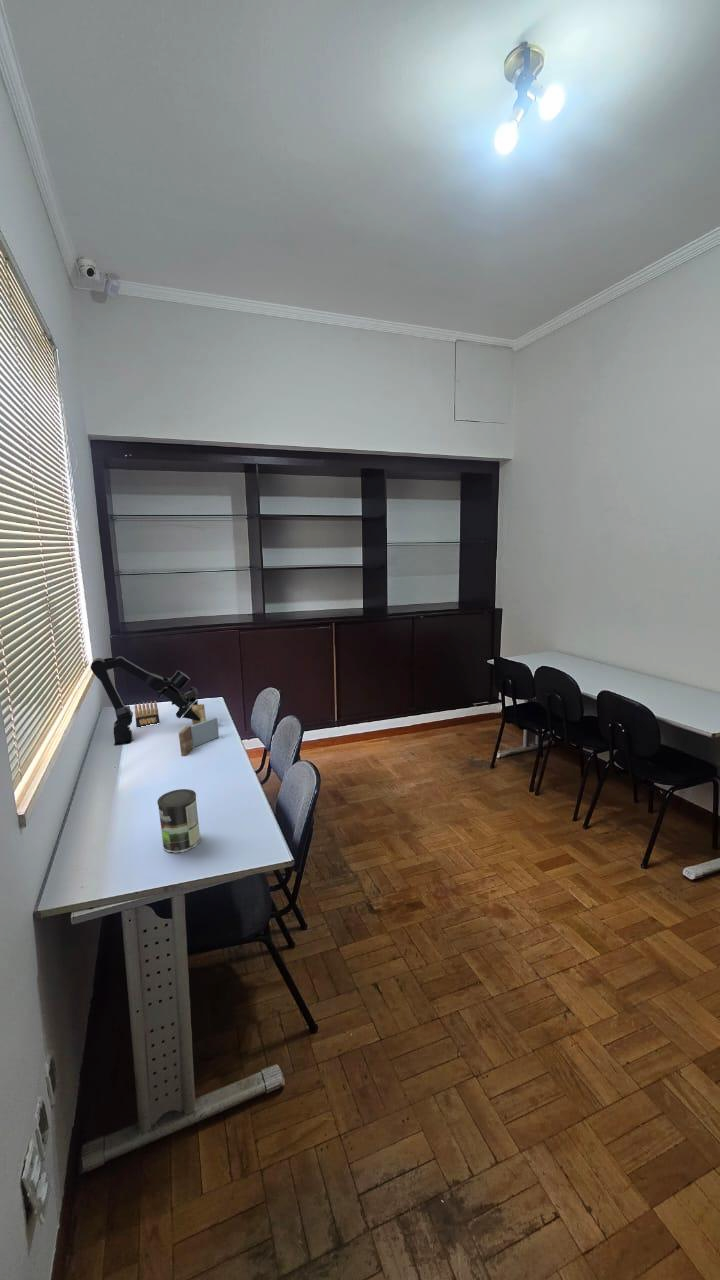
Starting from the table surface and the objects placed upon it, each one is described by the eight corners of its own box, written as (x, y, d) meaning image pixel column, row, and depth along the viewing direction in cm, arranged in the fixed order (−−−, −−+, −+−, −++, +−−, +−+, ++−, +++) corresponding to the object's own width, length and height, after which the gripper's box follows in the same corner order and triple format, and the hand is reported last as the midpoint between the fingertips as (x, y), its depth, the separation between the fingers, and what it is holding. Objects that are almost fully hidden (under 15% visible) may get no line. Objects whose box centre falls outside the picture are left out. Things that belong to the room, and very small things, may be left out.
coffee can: (172, 858, 140) (167, 810, 137) (157, 843, 147) (151, 798, 144) (207, 842, 147) (202, 796, 144) (190, 829, 154) (185, 785, 151)
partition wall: (181, 756, 210) (178, 732, 208) (188, 748, 218) (186, 726, 216) (186, 755, 210) (183, 732, 208) (193, 748, 218) (190, 725, 216)
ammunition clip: (136, 728, 248) (133, 704, 245) (136, 726, 249) (133, 703, 247) (160, 724, 252) (157, 700, 249) (159, 723, 253) (157, 699, 251)
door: (192, 746, 220) (190, 726, 218) (217, 736, 230) (215, 717, 228) (193, 746, 219) (191, 726, 217) (219, 737, 229) (217, 717, 227)
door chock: (193, 733, 236) (190, 707, 234) (195, 730, 240) (193, 704, 238) (204, 732, 236) (202, 706, 234) (206, 729, 240) (204, 704, 238)
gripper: (180, 689, 225) (208, 711, 227) (191, 678, 243) (217, 699, 245) (164, 707, 226) (192, 729, 228) (176, 695, 244) (202, 716, 246)
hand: (201, 717), depth 237 cm, fingers open, 7 cm apart
